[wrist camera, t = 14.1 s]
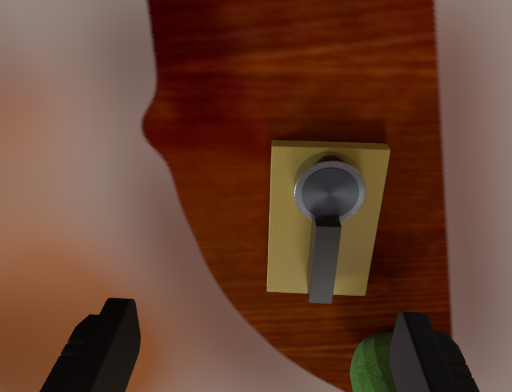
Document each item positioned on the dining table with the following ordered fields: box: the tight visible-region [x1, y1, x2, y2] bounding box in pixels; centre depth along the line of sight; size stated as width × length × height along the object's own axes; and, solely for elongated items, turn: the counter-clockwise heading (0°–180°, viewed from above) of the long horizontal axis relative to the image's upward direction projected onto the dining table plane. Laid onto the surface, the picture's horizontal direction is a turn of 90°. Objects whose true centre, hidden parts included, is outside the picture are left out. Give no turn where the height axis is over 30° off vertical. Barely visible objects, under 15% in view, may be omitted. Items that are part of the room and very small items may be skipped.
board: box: [267, 140, 391, 296], centre depth 41 cm, size 16×10×2 cm, turn 179°
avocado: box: [350, 332, 397, 392], centre depth 44 cm, size 8×8×12 cm
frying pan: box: [294, 152, 366, 303], centre depth 39 cm, size 14×6×3 cm, turn 179°
